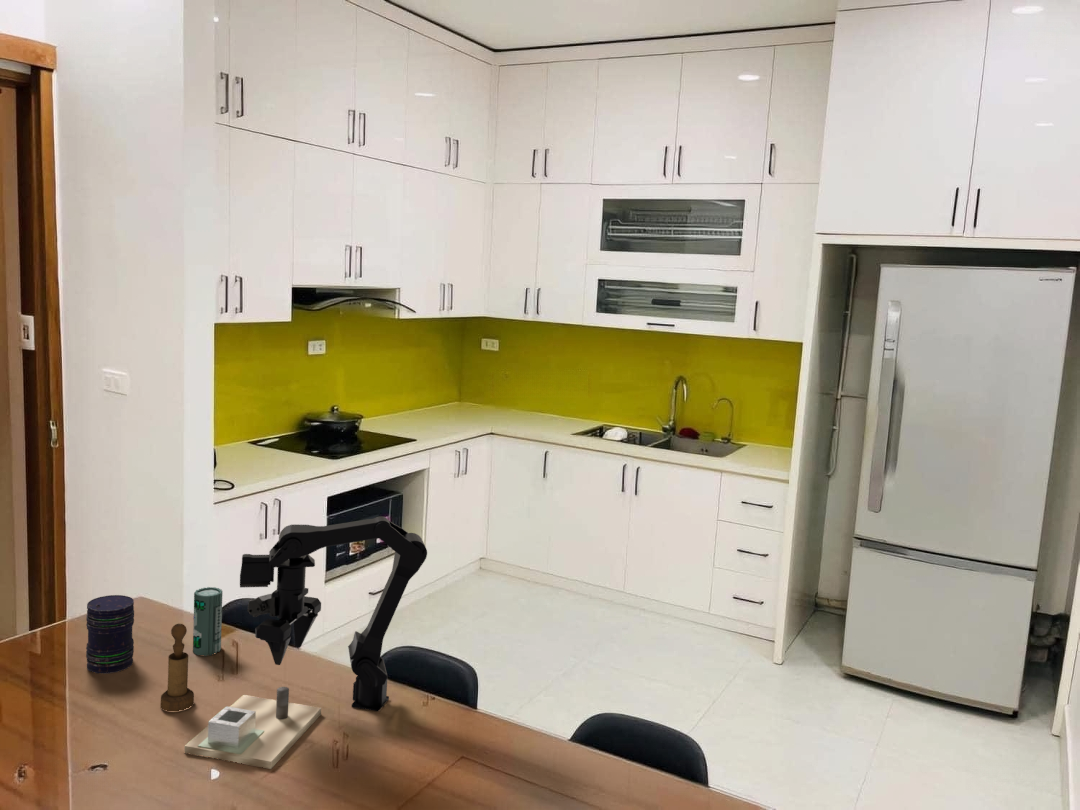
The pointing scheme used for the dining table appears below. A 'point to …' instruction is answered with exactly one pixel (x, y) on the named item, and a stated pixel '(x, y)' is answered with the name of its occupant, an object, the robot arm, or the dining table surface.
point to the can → (207, 621)
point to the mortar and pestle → (177, 675)
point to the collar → (231, 727)
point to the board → (262, 731)
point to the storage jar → (110, 633)
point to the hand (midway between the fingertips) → (288, 655)
